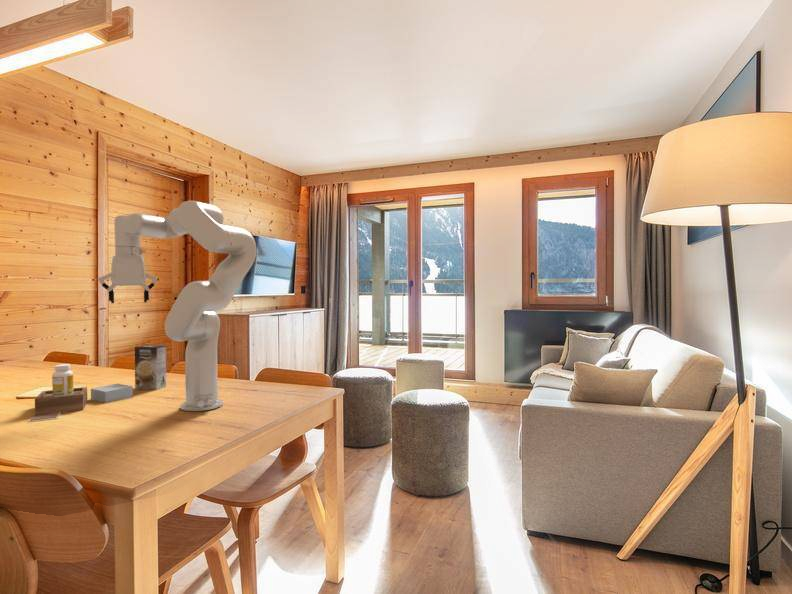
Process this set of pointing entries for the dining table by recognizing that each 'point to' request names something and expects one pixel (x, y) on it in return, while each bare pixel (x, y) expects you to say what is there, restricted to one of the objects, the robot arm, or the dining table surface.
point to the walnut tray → (61, 401)
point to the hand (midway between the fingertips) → (129, 302)
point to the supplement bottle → (62, 380)
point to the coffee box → (150, 367)
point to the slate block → (111, 392)
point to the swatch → (44, 416)
